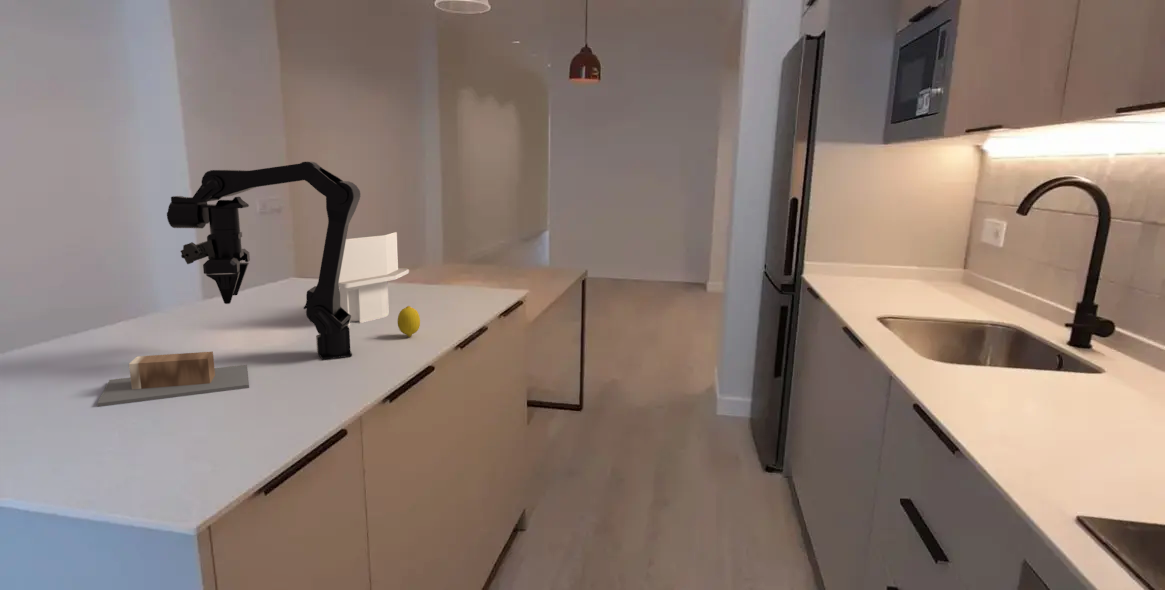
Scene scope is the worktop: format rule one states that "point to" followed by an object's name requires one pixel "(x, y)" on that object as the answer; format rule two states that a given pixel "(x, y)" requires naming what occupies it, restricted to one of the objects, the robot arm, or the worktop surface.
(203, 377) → the walnut block
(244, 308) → the worktop surface
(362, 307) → the architectural model
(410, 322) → the lemon
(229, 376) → the slate mat
